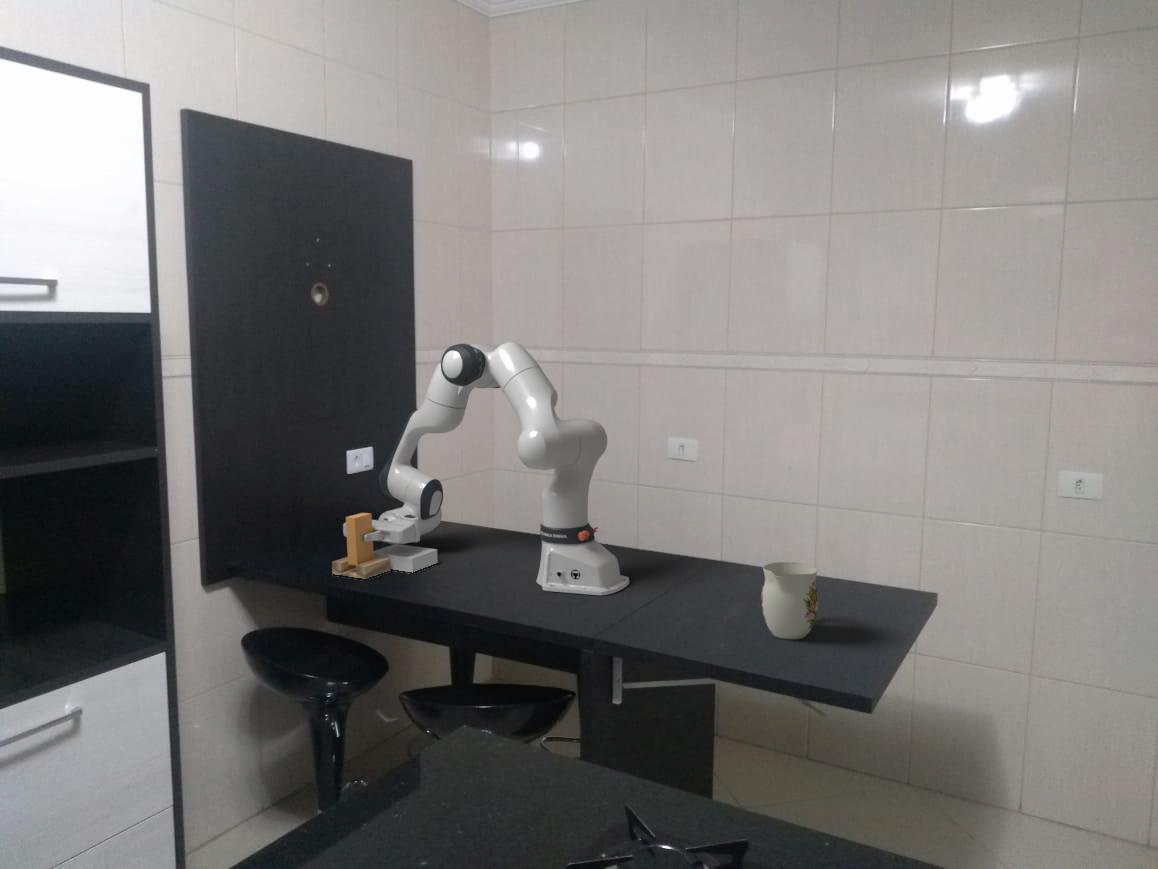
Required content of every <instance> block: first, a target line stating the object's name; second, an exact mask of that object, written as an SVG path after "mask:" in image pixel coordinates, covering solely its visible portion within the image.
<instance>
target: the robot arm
mask: <svg viewBox="0 0 1158 869" xmlns="http://www.w3.org/2000/svg"><path fill="white" fill-rule="evenodd" d="M475 388H476V389H499V388H500V389H501V390H502V391H501V392H502V393H503V394H504V396H505V397H506V399H507V400H508V402H509V404H510V405H511V407H512V409H513V411H514V412H515V414H516V416H517V418H518V421H519V424H520V431H521V432H520V434H519V437H518V439H517V444H516V447H517V448H516V450H517V455H518V458H519V459H520V462H522V464H523V465H524V466H525V467H527V468H528V469H533V470H541V471H549V470H550V471H551V470H553V474H552V476H551V478H550V480H549V481H548V483H547V484H546V485H545V487H544V488H543V490H542V492H541V523H540V526H539V527H540V528H539V529H540V531H539V532H540V533H539V534H540V544H541V554H540V555H541V556H540V561H539V569H538V574H537V578H536V583H537V584H538V585H540V586H541V587H542V588H541V589H542V591H544V592H555V593H556V592H557V593H567V594H580V595H592V596H607V595H611V594H614V593H618V592H619V591H621V590H623V589H625V588H626V587H628V586H629V585H630V579H629V576H625V575H621V570H620V566H619V562H618V559H617V556H615V555H614V554H613V553H612V552H610V551H609V550H608V549H607V548H606V547H604V545H602V544H601V543H600V542H598V541H597V539H596V536H595V533H597V532H598V526H597V527H592V525H591V524H590V522H589V517H588V516H589V491H590V490H589V489H590V484H591V480H592V476H593V473H594V470H595V468H596V465H597V463H598V461H599V460H600V458H601V457H602V456H603V454H604V453H605V452H606V450H607V446H608V435H607V432H606V429H605V428H604V427H603V425H602V424H601V423H600V422H598V421H596V420H594V419H593V420H592V419H586V418H573V419H565V420H562V419H560V417H558V415H557V413H556V411H555V408H556V406H557V403H558V399H559V396H558V392H557V390H556V389H555V387H554V385H553V384H552V382H551V381H550V380H549V378H548V376H547V375H546V373H545V372H544V370H543V369H542V367H541V366H540V365H539V363H538V362H537V360H536V359H535V358H534V357H533V355H532V354H531V353H530V352H529V351H528V350H527V349H526V348H525V347H523V346H522V345H521V344H520V343H518V342H515V341H510V342H508V341H507V342H504V343H502V344H500V345H499V346H497V347H494V346H491V345H485V344H479V343H469V344H468V343H457V344H454V345H451V346H449V347H447V348H446V349H445V351H444V352H443V354H442V356H441V360H440V362H439V363H438V364H437V366H436V367H435V370H434V371H433V373H432V376H431V379H430V381H429V383H428V386H427V389H426V393H425V396H424V400H423V402H422V403H421V405H420V406H419V407H418V409H414V410H413V411H411V413H410V414H409V415H408V417H407V419H406V420H405V422H404V425H403V426H402V429H401V431H400V433H399V435H398V438H397V440H396V442H395V444H394V447H393V449H392V452H391V454H390V456H389V458H388V461H387V462H386V464H385V465H384V466H383V468H382V469H381V471H380V474H379V486H380V490H381V492H382V493H383V495H386V496H389V497H391V498H394V499H397V500H398V501H400V502H402V503H403V506H402V507H398V508H394V509H391V510H386V511H384V512H383V513H382V514H380V516H379V518H378V519H372V532H373V533H369V534H368V533H366V534H363V535H362V541H364V542H369V541H373V542H374V541H375V542H383V543H387V544H389V545H390V544H391V545H394V544H400V545H406V544H409V543H419V542H420V541H421V536H423V535H426V534H428V533H430V532H432V531H433V530H434V529H435V528H437V527H438V526H439V525H440V524H441V522H442V519H443V511H442V508H441V507H442V504H443V500H444V488H443V484H442V482H441V481H440V480H439V479H437V478H435V477H434V476H432V475H430V474H428V473H426V472H423V471H422V470H419V469H418V468H416V467H413V466H412V465H413V464H411V460H412V457H413V455H414V453H415V451H416V448H417V446H418V444H419V441H420V440H421V438H422V436H424V435H425V434H447V433H449V432H452V431H454V430H455V429H457V428H458V427H459V426H460V425H461V424H462V422H463V420H464V416H465V413H466V410H467V407H468V406H467V405H468V402H469V398H470V394H471V392H473V390H474V389H475ZM342 531H343V536H344V537H345V538H347V532H346V522H344V523H343V524H342Z"/></svg>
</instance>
